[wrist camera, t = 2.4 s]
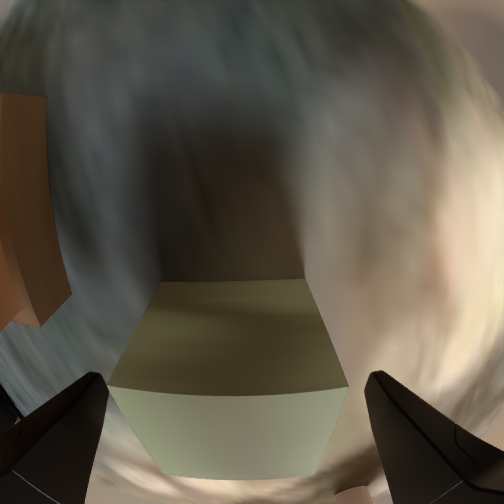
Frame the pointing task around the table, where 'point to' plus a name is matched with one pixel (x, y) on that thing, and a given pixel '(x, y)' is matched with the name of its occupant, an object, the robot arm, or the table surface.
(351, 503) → the smoothie
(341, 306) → the table surface
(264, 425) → the cube
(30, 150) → the bottom slab
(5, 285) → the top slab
